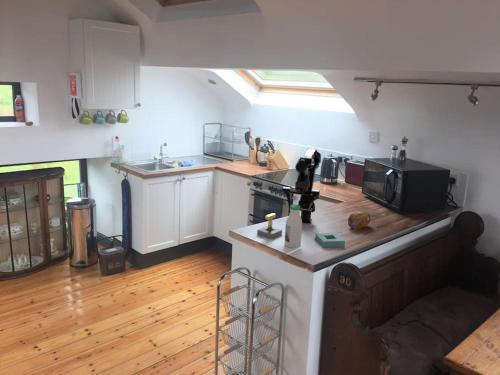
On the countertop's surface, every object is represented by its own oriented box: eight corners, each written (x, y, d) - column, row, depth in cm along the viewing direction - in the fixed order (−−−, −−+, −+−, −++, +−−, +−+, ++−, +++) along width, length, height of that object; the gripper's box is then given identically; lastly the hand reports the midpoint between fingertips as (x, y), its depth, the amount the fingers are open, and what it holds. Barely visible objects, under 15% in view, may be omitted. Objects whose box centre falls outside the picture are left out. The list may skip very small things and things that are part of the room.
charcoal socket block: (267, 231, 225) (267, 225, 224) (281, 235, 219) (282, 229, 218) (257, 235, 218) (257, 229, 217) (271, 240, 212) (271, 234, 212)
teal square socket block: (315, 239, 216) (315, 233, 215) (335, 238, 218) (336, 232, 218) (323, 247, 206) (323, 241, 205) (344, 246, 208) (345, 240, 207)
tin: (350, 230, 232) (351, 215, 230) (346, 228, 235) (347, 213, 233) (369, 226, 240) (371, 211, 238) (365, 224, 243) (367, 210, 241)
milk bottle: (301, 243, 209) (304, 204, 204) (299, 249, 202) (302, 208, 197) (285, 241, 211) (288, 202, 206) (283, 247, 203) (285, 206, 198)
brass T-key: (271, 232, 221) (272, 213, 219) (274, 233, 220) (275, 214, 217) (264, 235, 217) (265, 215, 214) (267, 236, 215) (268, 216, 213)
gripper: (282, 172, 214) (277, 202, 209) (320, 175, 209) (316, 206, 204) (285, 180, 224) (280, 208, 219) (321, 183, 219) (317, 213, 214)
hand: (298, 209), depth 214 cm, fingers open, 9 cm apart
